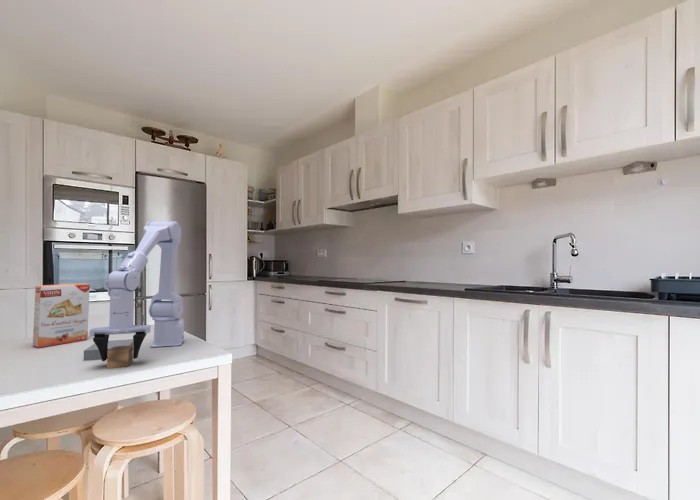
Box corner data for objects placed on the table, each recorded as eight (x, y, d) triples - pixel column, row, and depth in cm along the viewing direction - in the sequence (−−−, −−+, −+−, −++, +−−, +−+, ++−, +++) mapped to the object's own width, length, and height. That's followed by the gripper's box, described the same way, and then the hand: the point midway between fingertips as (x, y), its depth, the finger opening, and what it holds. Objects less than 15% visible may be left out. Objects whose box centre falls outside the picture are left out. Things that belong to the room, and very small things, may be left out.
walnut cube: (132, 361, 98) (133, 345, 98) (127, 367, 94) (128, 349, 94) (113, 363, 97) (113, 346, 97) (106, 369, 92) (107, 351, 92)
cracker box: (38, 348, 110) (40, 286, 110) (32, 346, 113) (34, 285, 113) (88, 340, 121) (90, 283, 122) (81, 337, 125) (83, 282, 125)
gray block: (135, 349, 112) (136, 338, 112) (126, 358, 102) (126, 347, 102) (97, 351, 109) (97, 341, 109) (83, 362, 98) (83, 350, 98)
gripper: (85, 315, 89) (84, 365, 89) (146, 313, 94) (145, 360, 94) (95, 311, 96) (94, 358, 95) (152, 309, 101) (151, 353, 100)
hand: (120, 358), depth 95 cm, fingers open, 7 cm apart
